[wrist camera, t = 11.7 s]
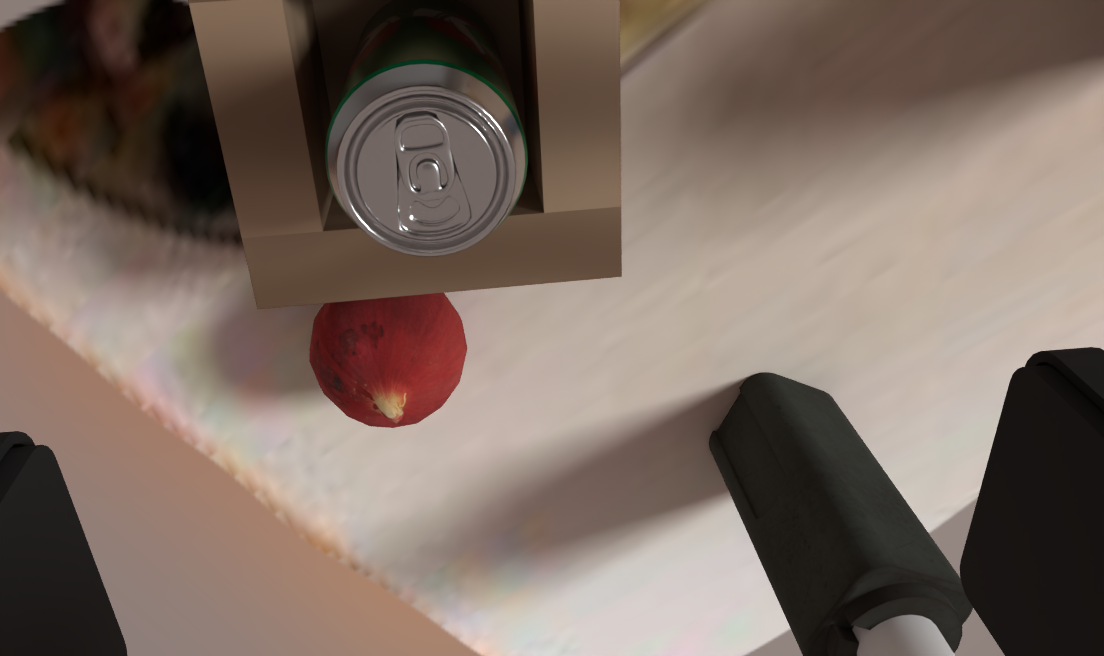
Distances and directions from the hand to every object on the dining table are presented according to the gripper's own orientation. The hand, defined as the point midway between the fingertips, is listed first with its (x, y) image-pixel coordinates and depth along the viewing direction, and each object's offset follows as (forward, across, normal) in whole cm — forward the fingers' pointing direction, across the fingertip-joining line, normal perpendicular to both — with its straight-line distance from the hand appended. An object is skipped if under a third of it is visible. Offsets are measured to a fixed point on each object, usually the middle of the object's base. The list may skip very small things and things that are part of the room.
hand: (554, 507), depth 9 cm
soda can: (+26, +2, +2) cm, 26 cm away
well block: (+27, +2, +2) cm, 27 cm away
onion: (+27, +4, +12) cm, 30 cm away
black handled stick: (+27, -13, +20) cm, 36 cm away
